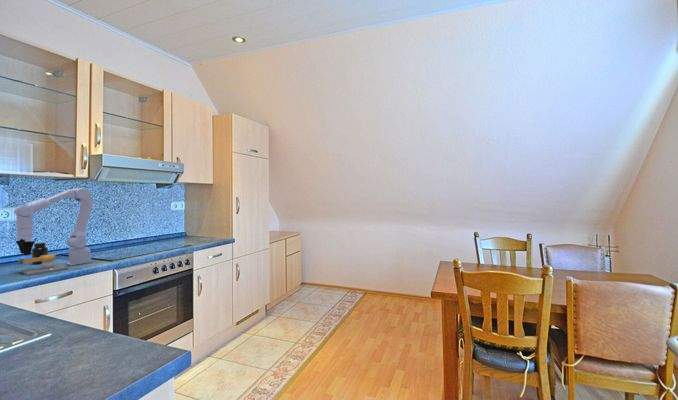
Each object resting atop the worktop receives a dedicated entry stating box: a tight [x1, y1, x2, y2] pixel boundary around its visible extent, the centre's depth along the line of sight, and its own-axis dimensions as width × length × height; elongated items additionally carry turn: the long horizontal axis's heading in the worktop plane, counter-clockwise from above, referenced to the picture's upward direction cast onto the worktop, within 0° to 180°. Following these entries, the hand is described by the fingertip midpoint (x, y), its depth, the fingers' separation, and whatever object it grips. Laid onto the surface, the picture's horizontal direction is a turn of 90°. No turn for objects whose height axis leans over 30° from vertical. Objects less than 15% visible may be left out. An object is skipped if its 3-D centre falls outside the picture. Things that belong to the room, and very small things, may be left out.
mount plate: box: [21, 260, 68, 277], centre depth 163 cm, size 15×14×5 cm
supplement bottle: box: [31, 242, 49, 265], centre depth 181 cm, size 7×7×12 cm
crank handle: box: [17, 253, 56, 265], centre depth 161 cm, size 14×6×3 cm, turn 145°
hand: (25, 254), depth 160 cm, fingers open, 7 cm apart
